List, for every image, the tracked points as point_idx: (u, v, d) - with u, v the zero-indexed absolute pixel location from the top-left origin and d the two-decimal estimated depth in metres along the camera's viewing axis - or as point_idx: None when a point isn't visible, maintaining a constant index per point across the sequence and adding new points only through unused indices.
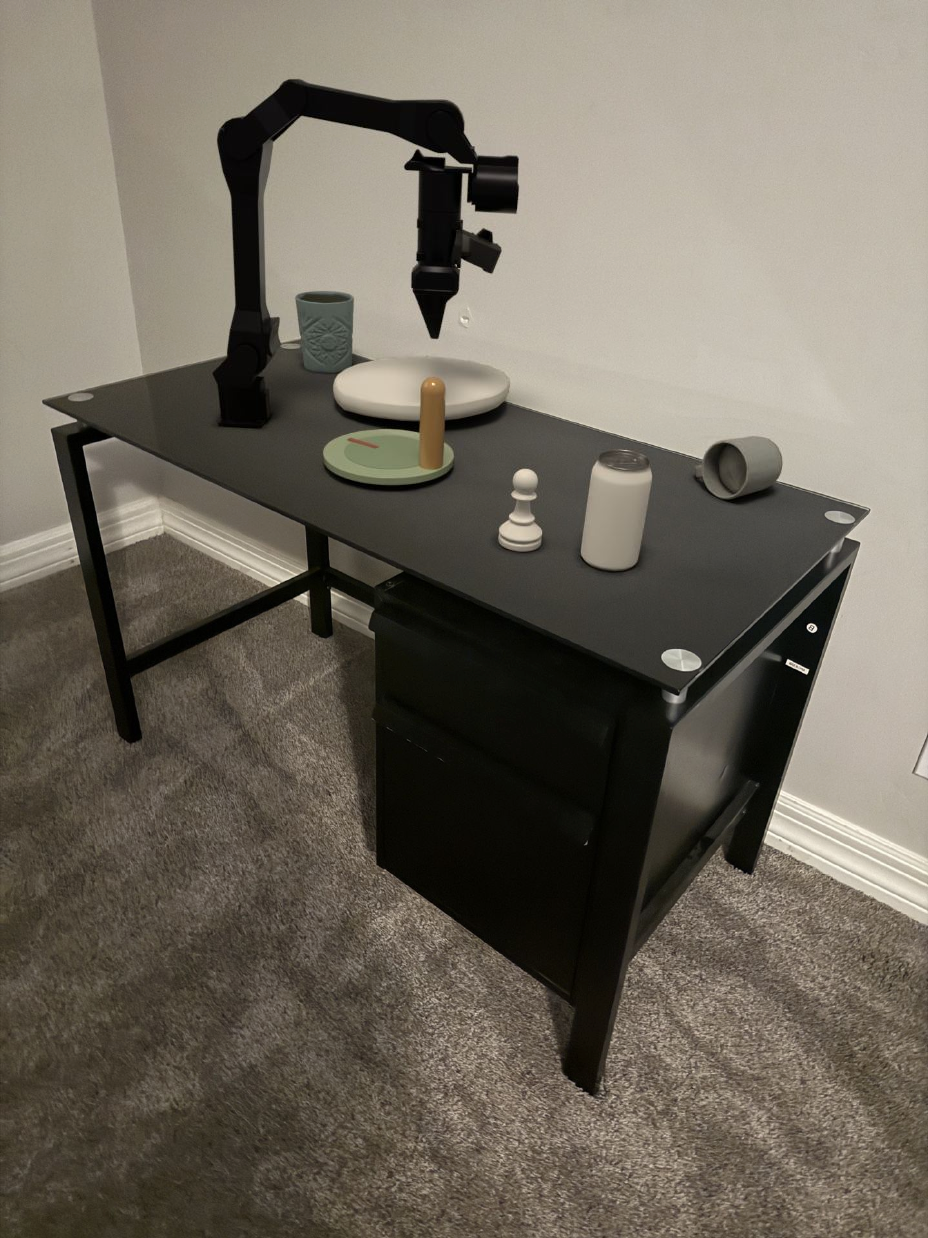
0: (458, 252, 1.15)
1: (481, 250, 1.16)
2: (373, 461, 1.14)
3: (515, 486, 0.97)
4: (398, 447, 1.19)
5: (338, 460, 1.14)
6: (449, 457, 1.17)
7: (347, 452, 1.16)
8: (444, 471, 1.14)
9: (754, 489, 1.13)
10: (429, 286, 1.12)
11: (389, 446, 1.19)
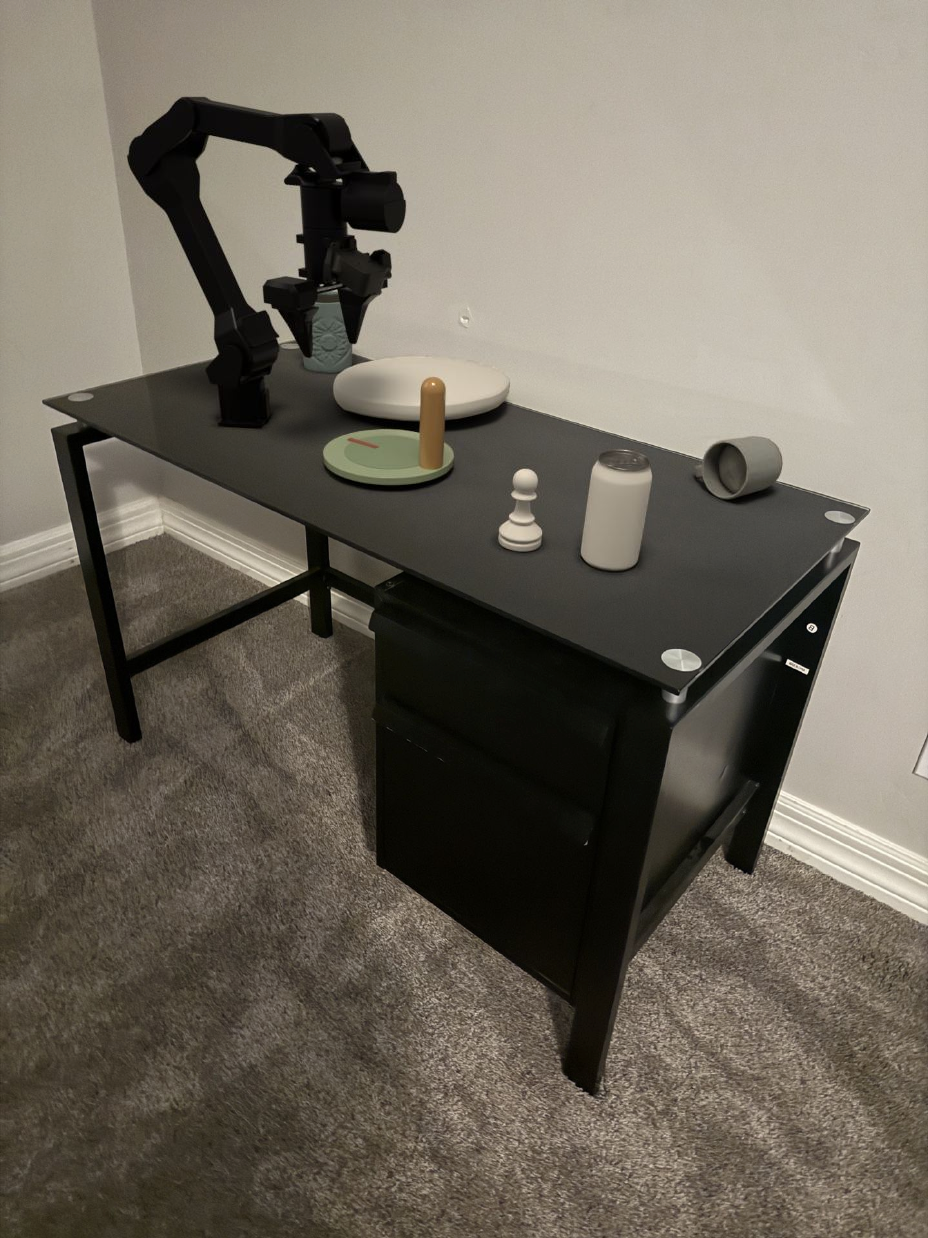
0: (328, 271, 1.10)
1: (349, 271, 1.09)
2: (373, 461, 1.14)
3: (515, 486, 0.97)
4: (398, 447, 1.19)
5: (338, 460, 1.14)
6: (449, 457, 1.17)
7: (347, 452, 1.16)
8: (444, 471, 1.14)
9: (754, 489, 1.13)
10: (274, 301, 1.09)
11: (389, 446, 1.19)
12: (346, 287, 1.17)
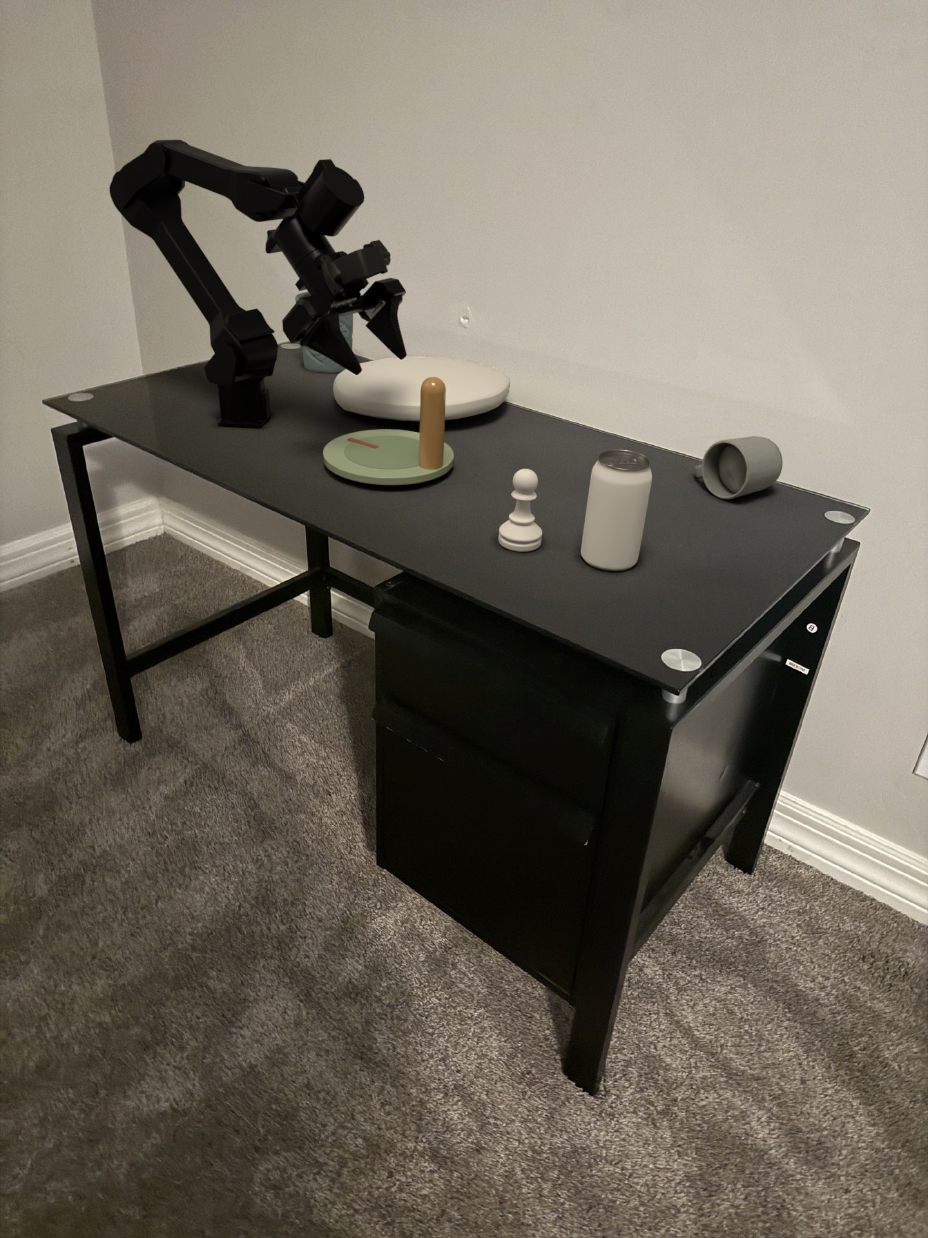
0: (331, 281, 1.07)
1: (345, 263, 1.06)
2: (373, 461, 1.14)
3: (515, 486, 0.97)
4: (398, 447, 1.19)
5: (338, 460, 1.14)
6: (449, 457, 1.17)
7: (347, 452, 1.16)
8: (444, 471, 1.14)
9: (754, 489, 1.13)
10: (295, 330, 1.05)
11: (389, 446, 1.19)
12: (366, 306, 1.14)
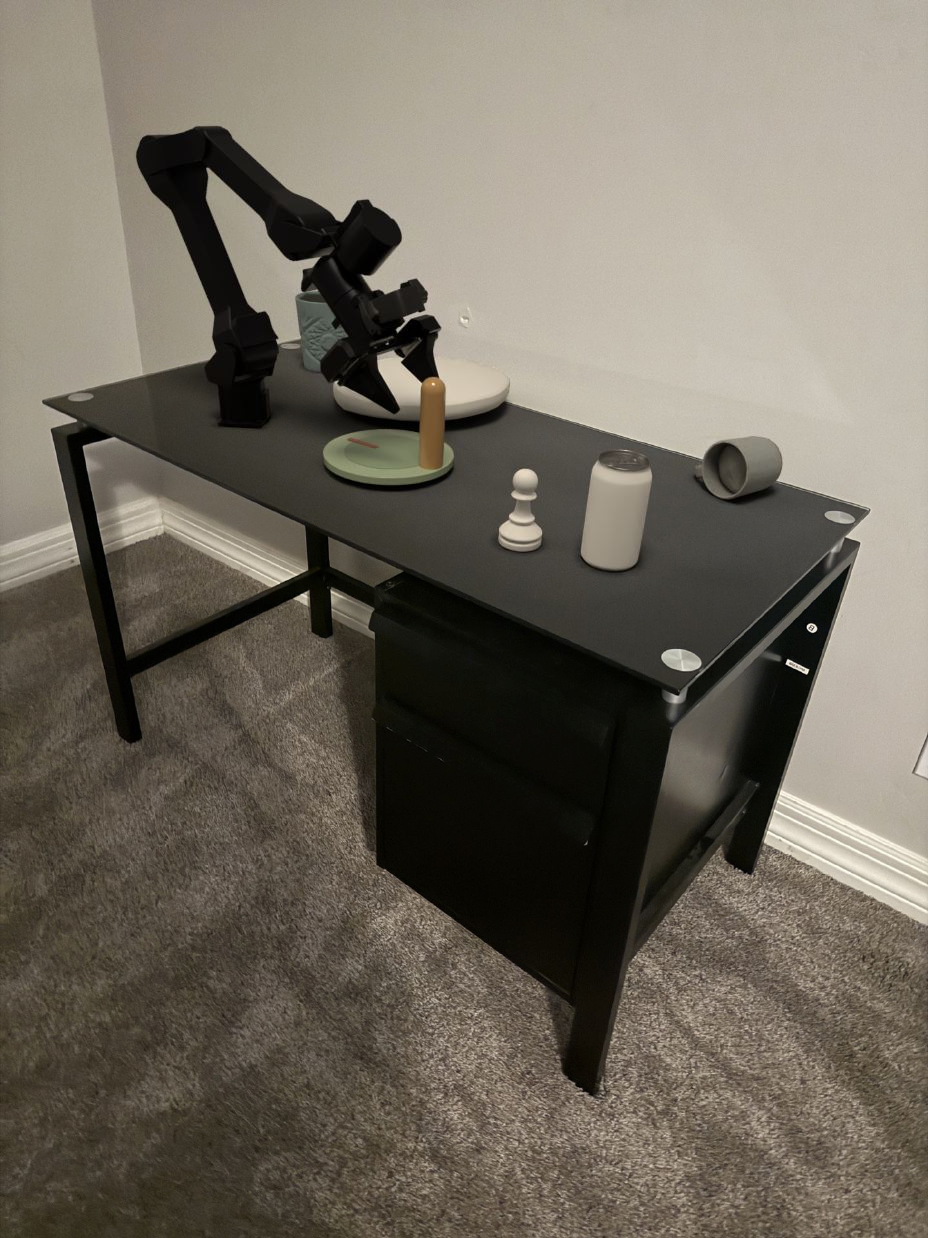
0: (368, 321, 1.07)
1: (383, 303, 1.05)
2: (373, 461, 1.14)
3: (515, 486, 0.97)
4: (398, 447, 1.19)
5: (338, 460, 1.14)
6: (449, 457, 1.17)
7: (347, 452, 1.16)
8: (444, 471, 1.14)
9: (754, 489, 1.13)
10: (333, 370, 1.05)
11: (389, 446, 1.19)
12: (402, 344, 1.13)
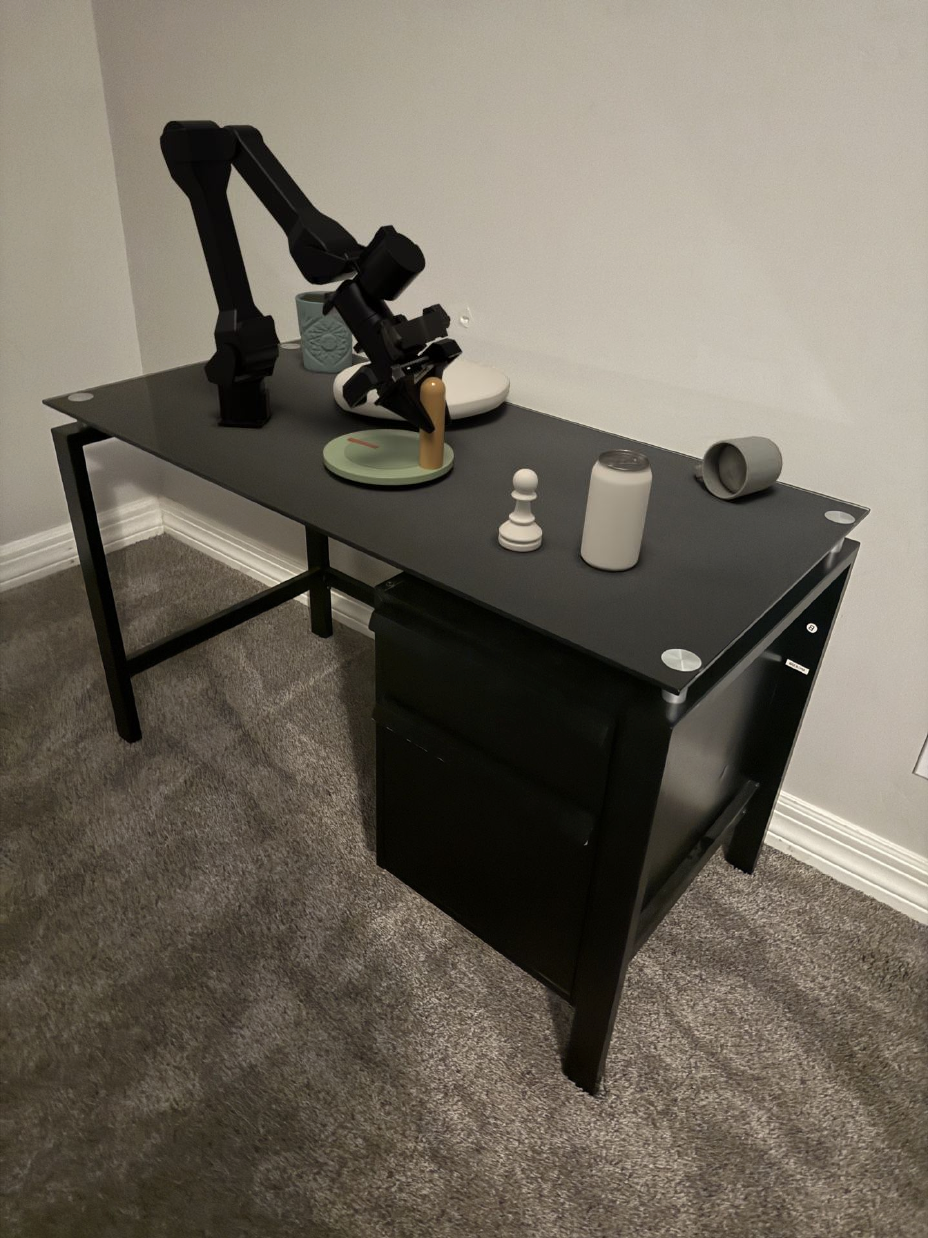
0: (391, 347, 1.06)
1: (406, 329, 1.05)
2: (373, 461, 1.14)
3: (515, 486, 0.97)
4: (398, 447, 1.19)
5: (338, 460, 1.14)
6: (449, 457, 1.17)
7: (347, 452, 1.16)
8: (444, 471, 1.14)
9: (754, 489, 1.13)
10: (356, 396, 1.04)
11: (389, 446, 1.19)
12: None
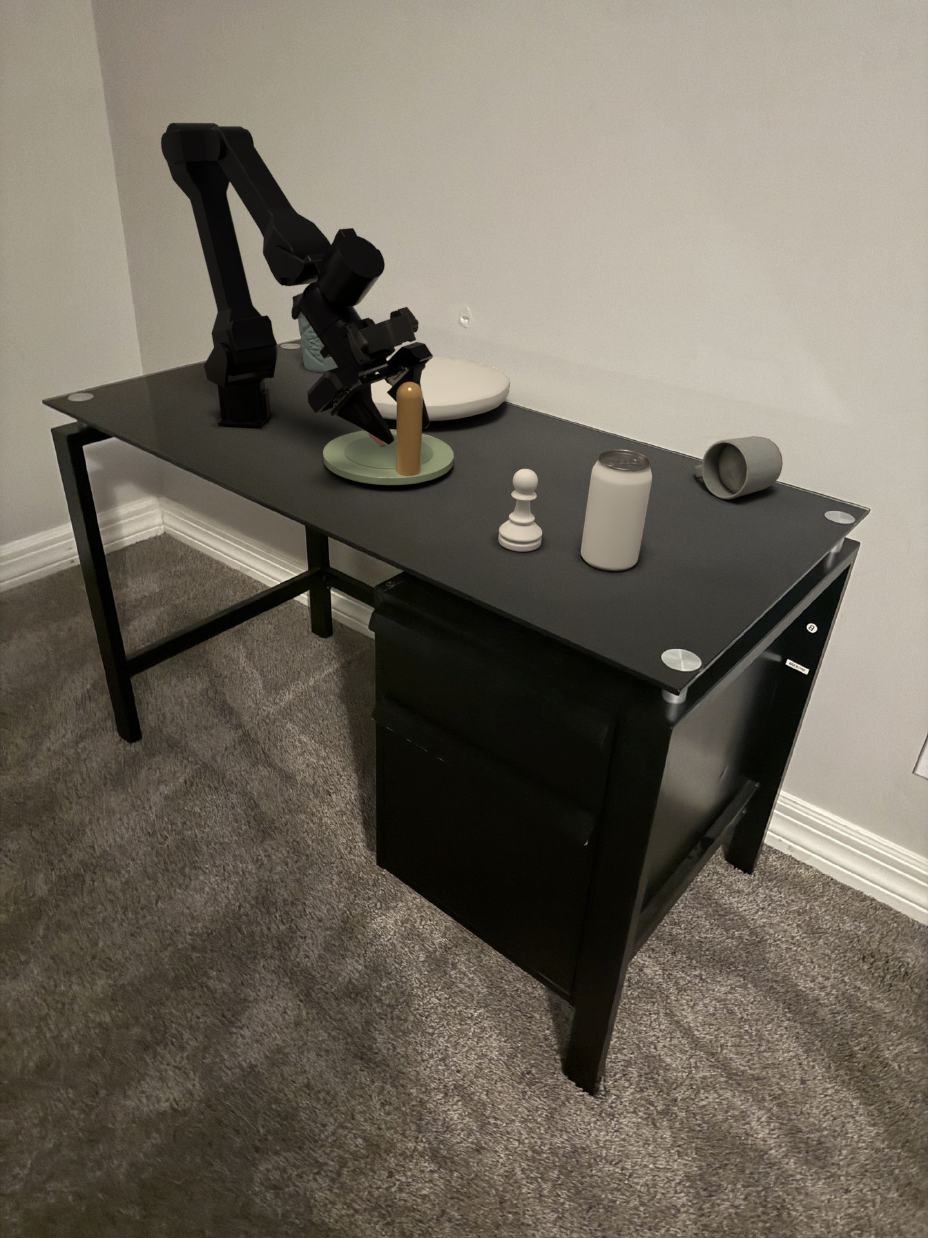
0: (357, 351, 1.04)
1: (372, 333, 1.02)
2: (361, 456, 1.15)
3: (515, 486, 0.97)
4: None
5: (334, 449, 1.17)
6: (436, 468, 1.14)
7: (351, 444, 1.19)
8: (418, 480, 1.12)
9: (754, 489, 1.13)
10: (321, 402, 1.02)
11: (396, 447, 1.19)
12: (392, 373, 1.10)
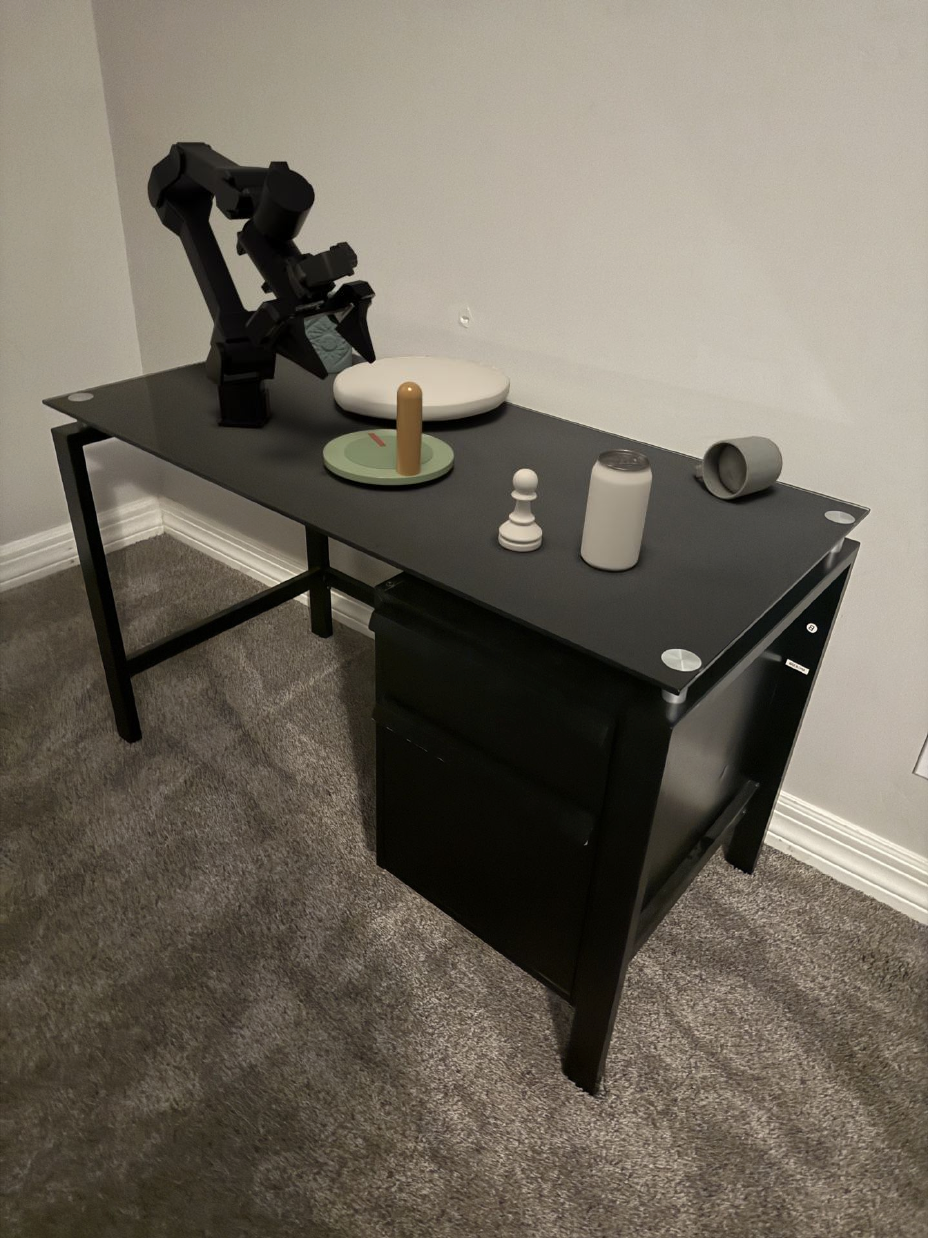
0: (296, 284, 1.05)
1: (310, 265, 1.03)
2: (361, 456, 1.15)
3: (515, 486, 0.97)
4: None
5: (334, 449, 1.17)
6: (436, 468, 1.14)
7: (351, 444, 1.19)
8: (418, 480, 1.12)
9: (754, 489, 1.13)
10: (259, 334, 1.03)
11: (396, 447, 1.19)
12: (334, 309, 1.11)
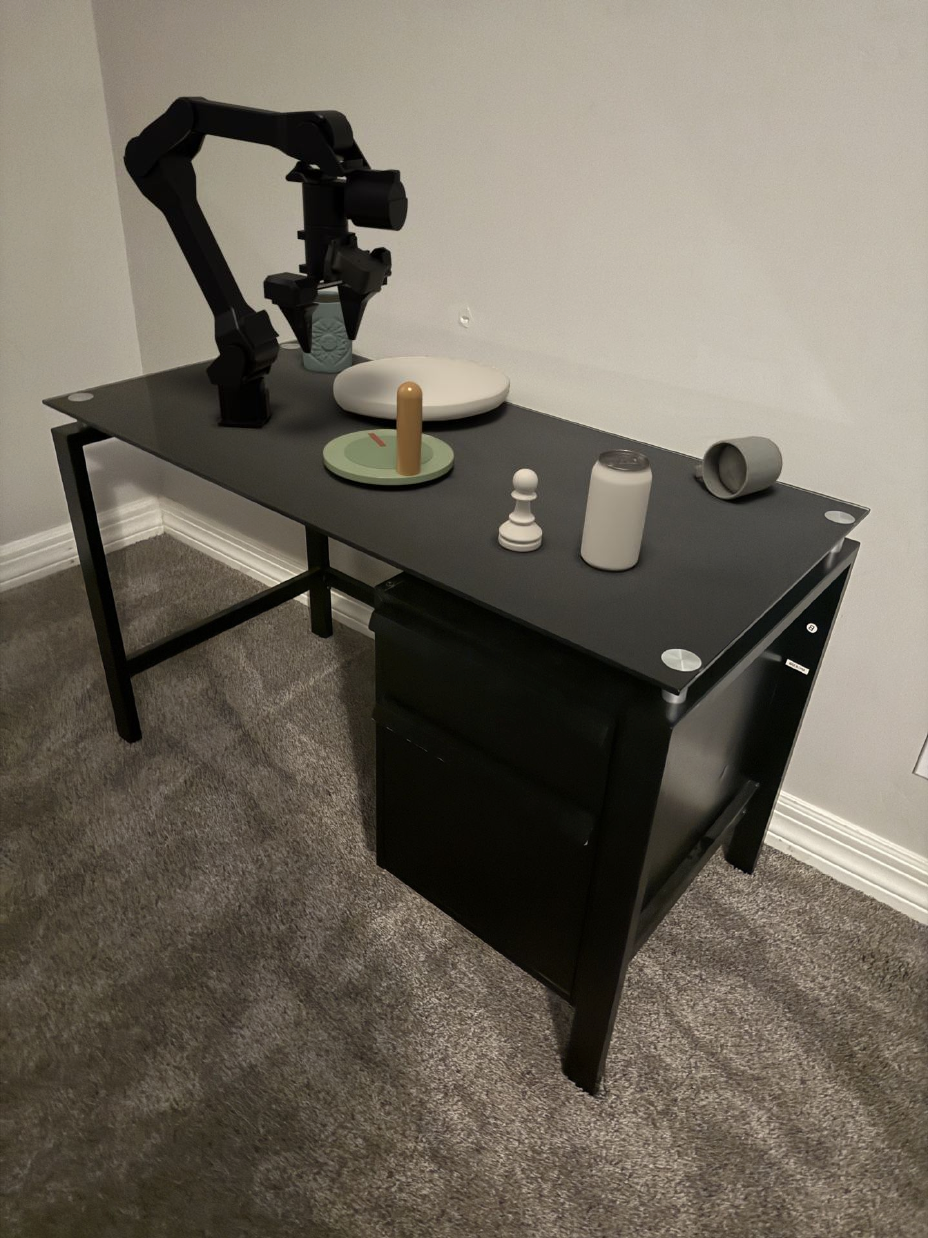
0: (328, 267, 1.11)
1: (349, 268, 1.10)
2: (361, 456, 1.15)
3: (515, 486, 0.97)
4: None
5: (334, 449, 1.17)
6: (436, 468, 1.14)
7: (351, 444, 1.19)
8: (418, 480, 1.12)
9: (754, 489, 1.13)
10: (274, 297, 1.10)
11: (396, 447, 1.19)
12: (346, 284, 1.18)
